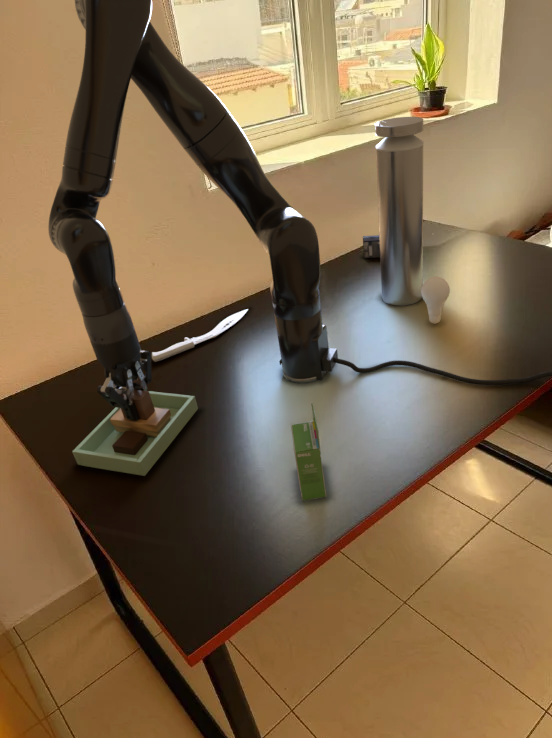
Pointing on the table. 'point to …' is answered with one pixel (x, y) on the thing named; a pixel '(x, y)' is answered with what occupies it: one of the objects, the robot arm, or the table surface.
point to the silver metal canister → (400, 209)
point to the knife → (198, 338)
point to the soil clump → (130, 442)
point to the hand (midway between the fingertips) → (139, 413)
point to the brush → (142, 416)
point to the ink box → (308, 459)
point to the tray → (102, 454)
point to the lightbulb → (435, 296)
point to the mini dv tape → (371, 246)
